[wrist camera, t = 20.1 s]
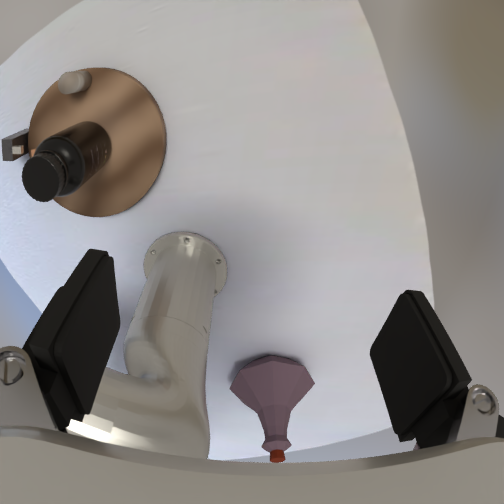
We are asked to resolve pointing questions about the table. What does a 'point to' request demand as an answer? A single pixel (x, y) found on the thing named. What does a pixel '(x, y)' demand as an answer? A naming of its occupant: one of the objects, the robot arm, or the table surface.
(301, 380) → the flask
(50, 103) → the disc
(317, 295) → the table surface
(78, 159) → the supplement bottle
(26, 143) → the index pointer
